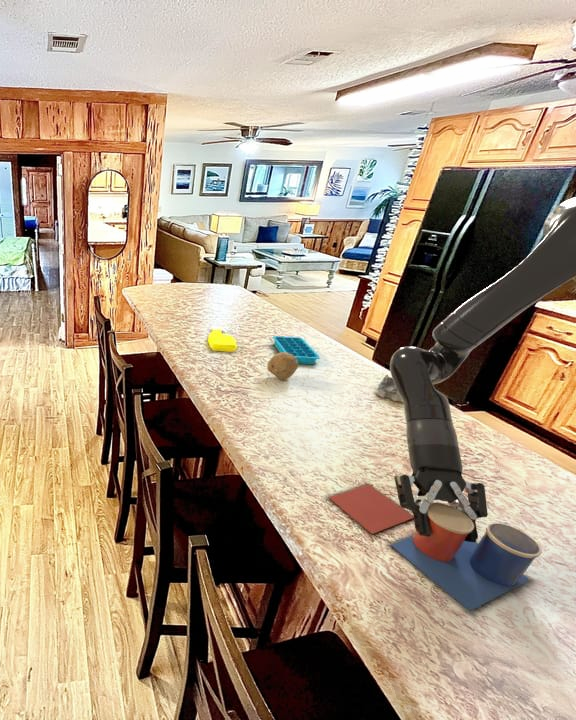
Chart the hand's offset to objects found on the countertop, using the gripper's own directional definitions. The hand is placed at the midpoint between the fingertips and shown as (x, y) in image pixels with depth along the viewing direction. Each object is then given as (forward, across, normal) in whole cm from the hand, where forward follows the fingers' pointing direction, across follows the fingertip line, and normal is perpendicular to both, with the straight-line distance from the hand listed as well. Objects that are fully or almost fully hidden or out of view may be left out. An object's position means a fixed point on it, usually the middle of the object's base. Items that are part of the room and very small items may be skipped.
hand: (447, 538), depth 69 cm
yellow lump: (-67, -27, +74) cm, 104 cm away
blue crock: (+4, +8, +2) cm, 9 cm away
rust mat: (-4, -7, +10) cm, 13 cm away
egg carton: (-41, +22, +48) cm, 67 cm away
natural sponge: (-44, -12, +51) cm, 68 cm away
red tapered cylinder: (+2, 0, +4) cm, 4 cm away
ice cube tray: (-61, 0, +67) cm, 91 cm away
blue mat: (+4, +3, +2) cm, 5 cm away
